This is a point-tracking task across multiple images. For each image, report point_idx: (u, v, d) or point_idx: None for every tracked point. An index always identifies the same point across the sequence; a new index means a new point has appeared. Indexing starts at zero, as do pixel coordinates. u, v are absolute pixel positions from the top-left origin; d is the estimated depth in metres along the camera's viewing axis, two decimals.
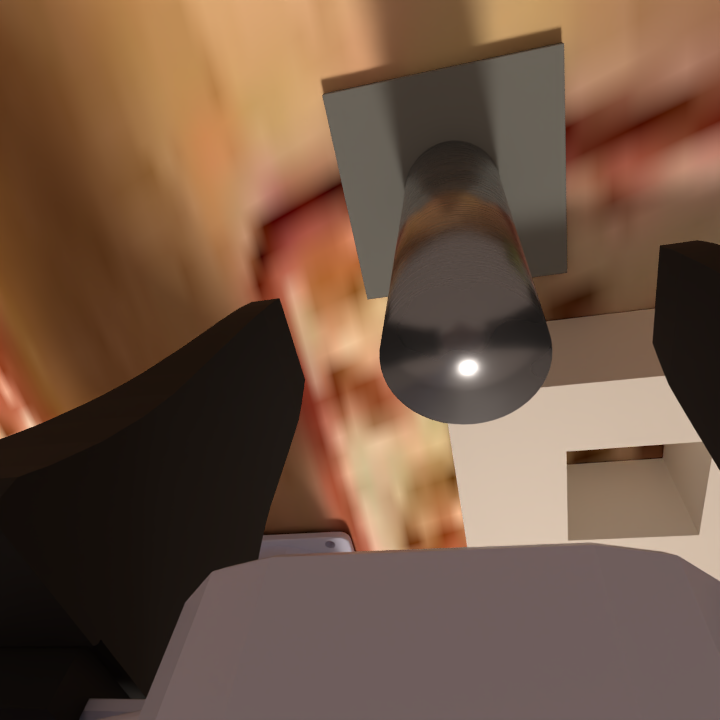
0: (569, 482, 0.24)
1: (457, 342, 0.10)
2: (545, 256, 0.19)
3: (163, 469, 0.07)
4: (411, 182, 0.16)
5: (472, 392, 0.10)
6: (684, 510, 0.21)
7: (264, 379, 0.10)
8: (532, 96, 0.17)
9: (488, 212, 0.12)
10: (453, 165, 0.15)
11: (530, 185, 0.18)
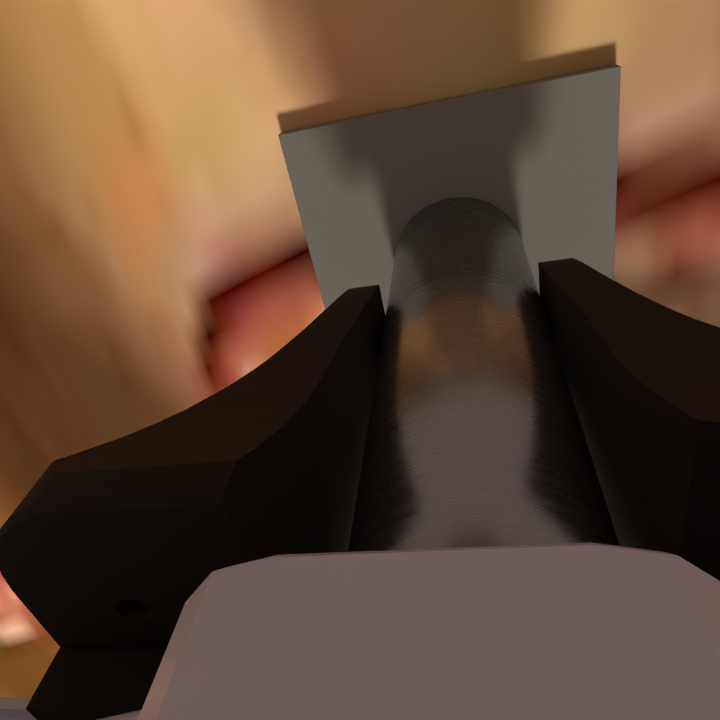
0: None
1: None
2: None
3: (319, 457, 0.07)
4: (401, 263, 0.11)
5: None
6: None
7: (374, 367, 0.10)
8: (572, 139, 0.12)
9: (521, 357, 0.07)
10: (461, 246, 0.10)
11: (564, 256, 0.13)
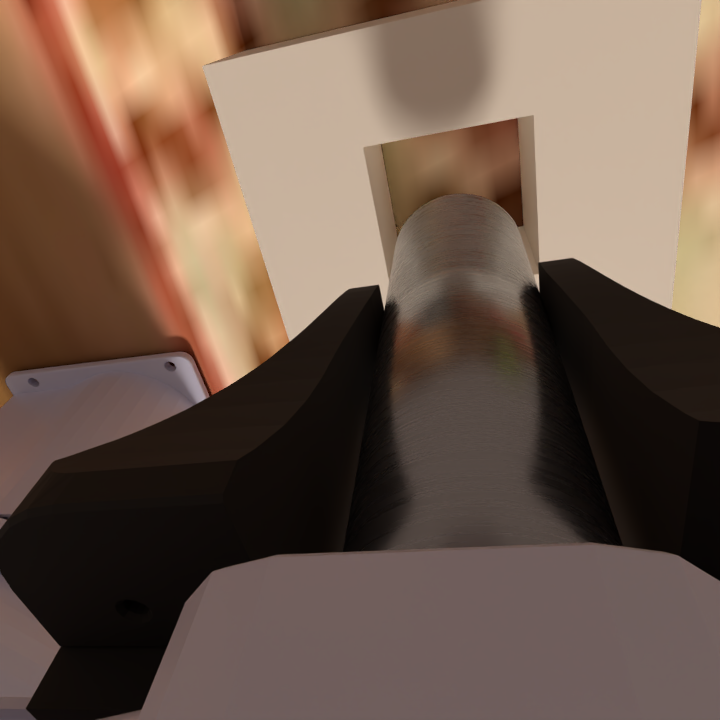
0: None
1: None
2: None
3: (320, 457, 0.07)
4: (398, 261, 0.11)
5: None
6: (531, 258, 0.18)
7: None
8: None
9: (515, 346, 0.07)
10: (457, 240, 0.10)
11: None
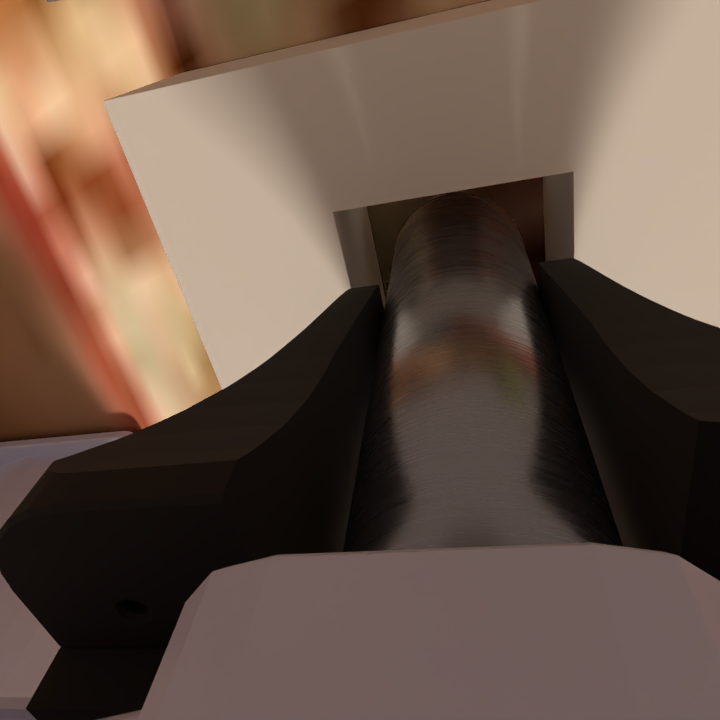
0: None
1: None
2: None
3: (319, 457, 0.07)
4: (398, 261, 0.11)
5: None
6: None
7: None
8: None
9: (514, 346, 0.07)
10: (457, 239, 0.10)
11: None
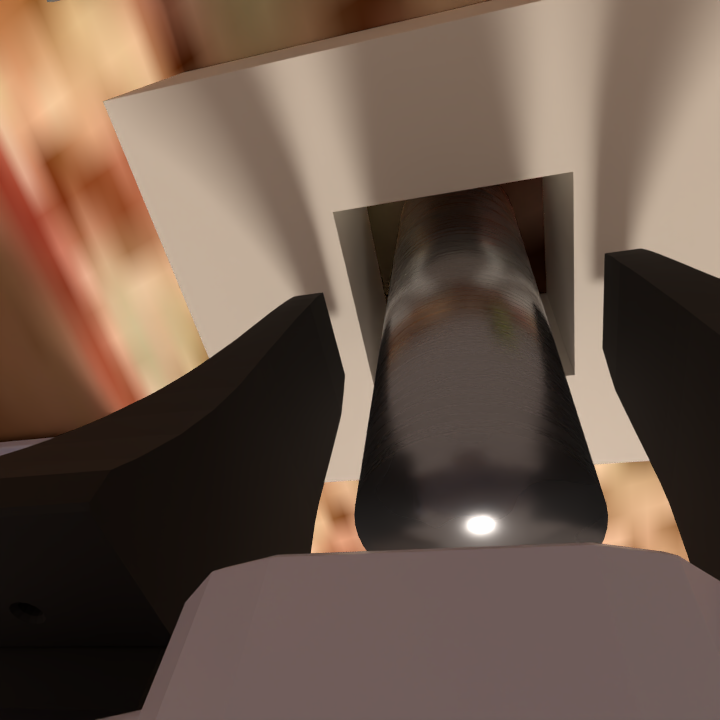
0: None
1: (466, 507, 0.07)
2: None
3: (231, 463, 0.07)
4: (404, 227, 0.13)
5: None
6: (560, 347, 0.14)
7: (312, 374, 0.10)
8: None
9: (502, 286, 0.09)
10: (455, 207, 0.12)
11: None
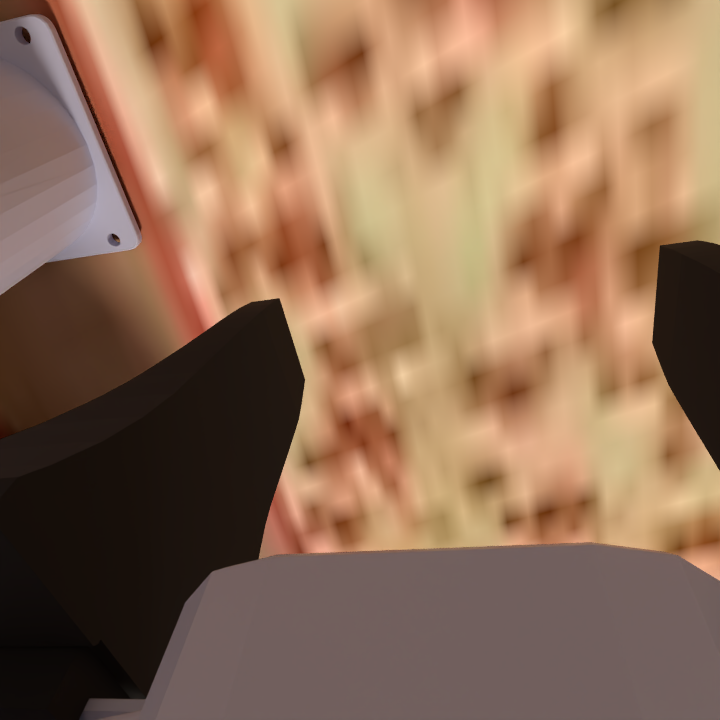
0: None
1: None
2: None
3: (163, 469, 0.07)
4: None
5: None
6: None
7: (264, 379, 0.10)
8: None
9: None
10: None
11: None
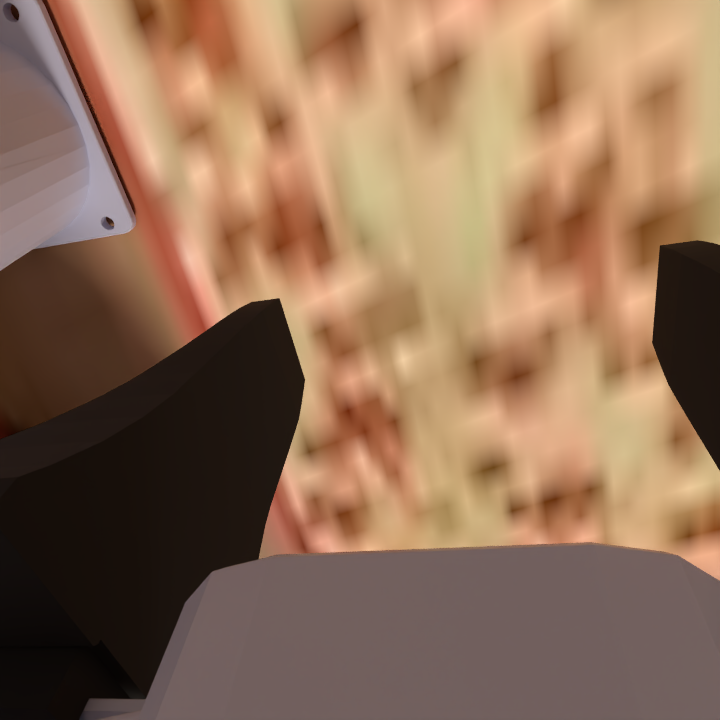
0: None
1: None
2: None
3: (163, 469, 0.07)
4: None
5: None
6: None
7: (264, 379, 0.10)
8: None
9: None
10: None
11: None
